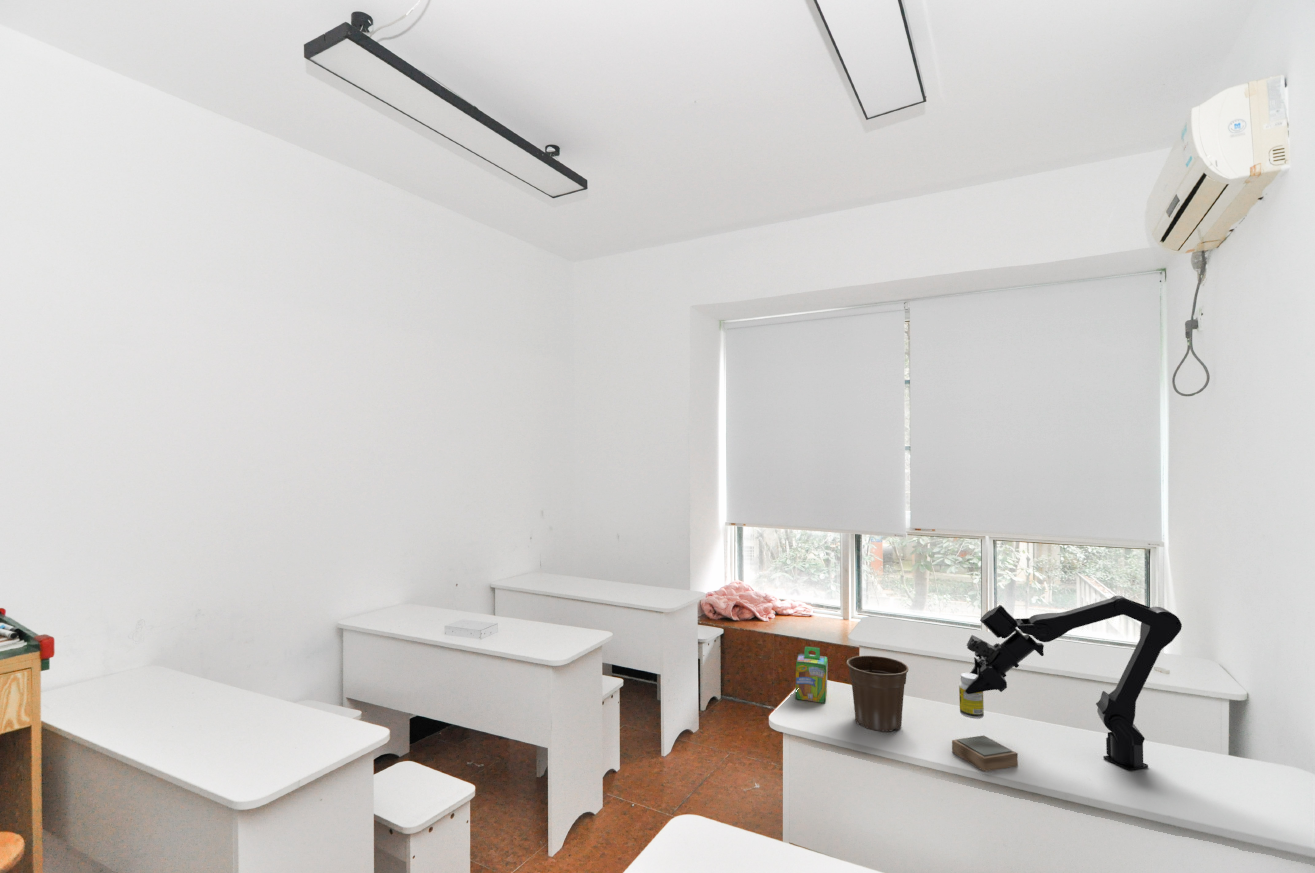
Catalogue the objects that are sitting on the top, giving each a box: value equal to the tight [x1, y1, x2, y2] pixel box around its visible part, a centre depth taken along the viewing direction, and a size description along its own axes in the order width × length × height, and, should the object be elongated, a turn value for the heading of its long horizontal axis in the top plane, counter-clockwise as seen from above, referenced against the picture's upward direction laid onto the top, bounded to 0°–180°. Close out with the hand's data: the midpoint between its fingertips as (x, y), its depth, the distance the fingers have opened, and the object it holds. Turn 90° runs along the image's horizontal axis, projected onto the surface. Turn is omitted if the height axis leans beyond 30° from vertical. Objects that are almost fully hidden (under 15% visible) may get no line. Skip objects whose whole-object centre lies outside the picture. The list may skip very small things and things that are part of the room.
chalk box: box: [794, 646, 829, 704], centre depth 188 cm, size 9×9×15 cm
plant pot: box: [846, 655, 909, 732], centre depth 169 cm, size 16×16×16 cm
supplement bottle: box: [958, 672, 985, 720], centre depth 162 cm, size 6×6×10 cm
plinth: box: [951, 735, 1019, 773], centre depth 149 cm, size 10×10×3 cm
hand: (965, 688), depth 162 cm, fingers closed on supplement bottle, 6 cm apart
